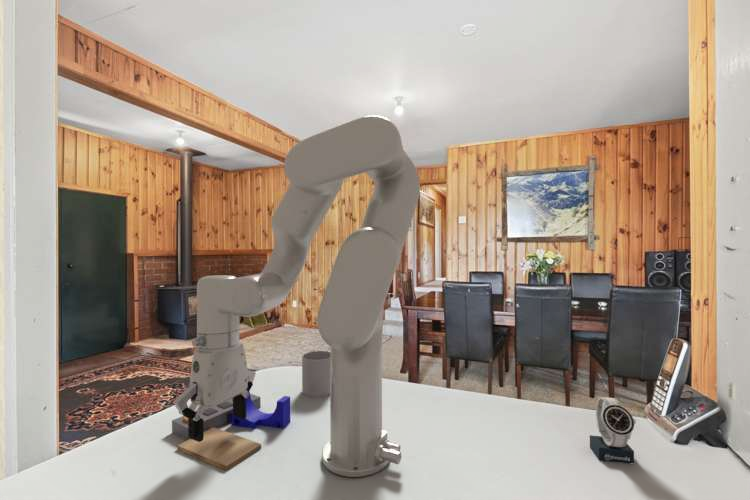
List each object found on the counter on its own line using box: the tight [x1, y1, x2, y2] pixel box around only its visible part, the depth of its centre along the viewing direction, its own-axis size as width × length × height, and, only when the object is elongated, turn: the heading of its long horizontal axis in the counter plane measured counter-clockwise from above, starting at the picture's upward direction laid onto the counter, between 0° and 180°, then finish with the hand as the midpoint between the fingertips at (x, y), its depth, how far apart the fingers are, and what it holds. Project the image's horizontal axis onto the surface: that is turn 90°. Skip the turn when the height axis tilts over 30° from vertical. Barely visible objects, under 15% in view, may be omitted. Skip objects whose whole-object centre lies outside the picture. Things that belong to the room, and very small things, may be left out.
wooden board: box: [176, 427, 262, 471], centre depth 69 cm, size 14×8×1 cm, turn 61°
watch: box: [589, 396, 637, 464], centre depth 65 cm, size 6×8×11 cm
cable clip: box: [230, 391, 291, 430], centre depth 79 cm, size 12×4×6 cm, turn 73°
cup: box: [301, 350, 331, 398], centre depth 96 cm, size 8×8×10 cm
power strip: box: [171, 393, 261, 441], centre depth 81 cm, size 18×6×4 cm, turn 147°
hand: (219, 427), depth 69 cm, fingers open, 9 cm apart
